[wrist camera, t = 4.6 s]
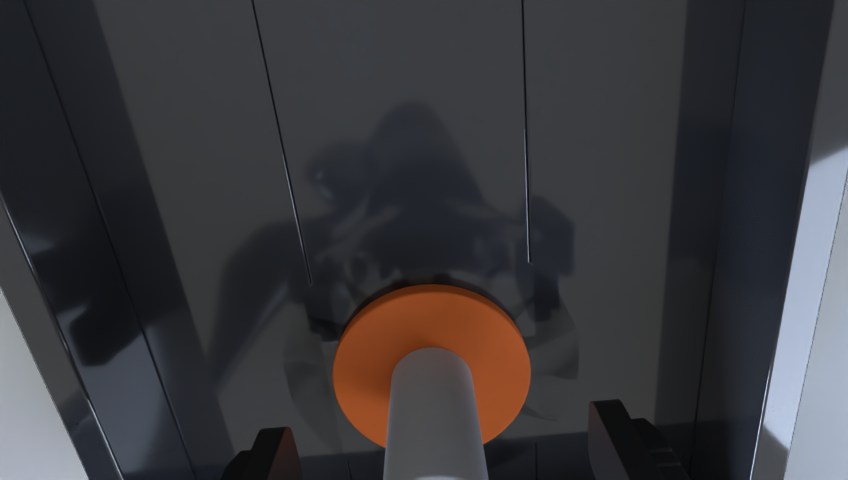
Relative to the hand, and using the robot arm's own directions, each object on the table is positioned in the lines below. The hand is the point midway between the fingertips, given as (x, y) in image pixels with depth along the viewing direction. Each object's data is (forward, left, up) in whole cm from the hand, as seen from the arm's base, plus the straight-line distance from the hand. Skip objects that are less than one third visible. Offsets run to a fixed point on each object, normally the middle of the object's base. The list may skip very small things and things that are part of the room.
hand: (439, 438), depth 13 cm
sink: (0, +6, -6) cm, 8 cm away
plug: (0, 0, -6) cm, 6 cm away
